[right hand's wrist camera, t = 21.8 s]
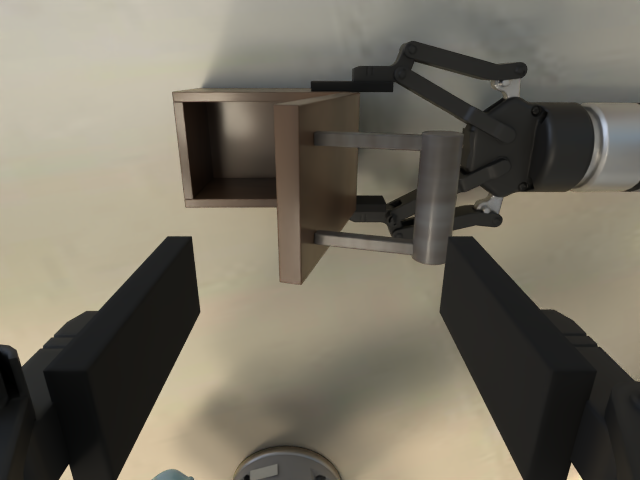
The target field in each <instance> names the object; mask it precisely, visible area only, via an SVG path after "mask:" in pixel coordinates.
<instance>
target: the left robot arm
mask: <svg viewBox="0 0 640 480" xmlns="http://www.w3.org/2000/svg"><path fill="white" fill-rule="evenodd" d="M414 61H415V62H418V63H422V64H425V65H429V66H433V67H436V68H440V69H444V70H447V71H451V72H454V73H458V74H462V75H465V76H469V77H472V78H476V79H481V80H491V86H492V88H493V89H495V90H499V91H501V92H502V94H503V98H502V99H500V100H499V101H497V102H496V103H495V104H493V105H492V106H490V107H489V108H487V109H486V110H484V111H481V110H479V109H477V108H475V107H473V106H471V105H469V104H468V103H466V102H464V101H463V100H461V99H459V98H458V97H456V96H454V95H452V94H451V93H449V92H447V91H446V90H444V89H442V88H441V87H439V86H437V85H435V84H434V83H432V82H430V81H429V80H427V79H425V78H424V77H422V76H420V75H418V74H417V73H415V72H413V71H412V70H411V69H412V66H413V64H414ZM526 73H527V66H526V64H524V63H522V62H516V63H502V64H494V63H490V62H487V61H483V60H480V59H476V58H473V57H469V56H465V55H462V54H458V53H455V52H451V51H448V50H444V49H441V48H437V47H433V46H430V45H426V44H423V43H419V42H416V41H411V42H407V43H405V44H403V45H402V46H401V47H400V50H399V54H398V57H397V59H396V61H395V63H394V64H392V65H391V66H358V67H356V68H354V69H352V81H311V91H343V92H393V82H396V83H397V84H399V85H401V86H403V87H404V88H406V89H408V90H410V91H411V92H413V93H415V94H416V95H418V96H420V97H422V98H423V99H425V100H427V101H429V102H430V103H432V104H434V105H435V106H437V107H439V108H441V109H442V110H444V111H446V112H448V113H449V114H451V115H453V116H454V117H456V118H457V119H459V120H461V121H462V122H464V123H466V124H467V125H466V128H463V134H464V139H463V148H462V156H461V164H460V165H461V166H460V173H459V181H458V189H457V194H458V193H460V192H466V191H469V190H471V189H473V188H475V187H477V186H479V185H480V186H481V187H483V188H484V189H485V190H486V191H488V192H489V194H488V196H487V197H486V198H485V199H481V200H478V201H476V202H475V204H474V205H465V206H459V207H455V214H454V223H453V230H457V229H462V228H466V227H470V226H475V225H478V226H488V227H498V226H500V225H501V223H502V220H503V219H502V217H501V216H500V215H499V211H500V208H501V204H502V200H503V197H506V196H508V195H510V194H512V193H515V192H566V191H569V190H571V191H573V192H619V191H621V192H631V191H635V192H640V103H583V104H578V103H551V102H527V101H525V100H524V99H522V98H520V82H521V78H522V77H524V76H525V74H526ZM416 197H417V189H416V190H414V191H412V192H410V193H408V194H406V195H404V196H402V197H400V198H398V199H396V200H394V201H392V202H389V203H387V204H386V202H385V200H384V198H383V196H356V211H355V212H354V213H353V215H352V216H351V217H350V219H349V220H351V221H353V222H383V223H385V224H387V226H388V229H389V232H390V234H391V236H392V237H393V238H403V239H413V233H414V221H415V217H412V218H408V217H410V216H412V215H414V214H415V209H416ZM406 218H407V219H406ZM152 480H194V478H193V477H187V476H186V475H184V474H183V473H181V472H180V471H178V470H175V469H170V470H166V471H164V472H162V473H160V474H158V475H157V476H156V477H154V478H153V479H152ZM233 480H341V479H340V476H339V474H338V472H337V470H336V469H335V467H334V466H333V465H332V464H331V463H330V462H329V461H328V460H327V459H325V458H324V457H322V456H321V455H319V454H317V453H315V452H313V451H310V450H307V449H303V448H299V447H291V446H279V447H272V448H268V449H264V450H261V451H259V452H256V453H254V454H253V455H251V456H249V457H248V458H246V459H245V460H244V461H243V462H242V463H241V464H240V465H239V467H238V468H237V470H236V472H235V474H234V477H233Z"/></svg>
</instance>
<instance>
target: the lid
mask: <svg viewBox="0 0 640 480" xmlns="http://www.w3.org/2000/svg"><path fill="white" fill-rule="evenodd" d="M359 105H360V93H359V92H343V93H337V94H331V95H326V96H320V97H314V98H308V99H302V100H297V101H291V102H285V103H279V104H274V106H273V107H274V135H275V163H276V191H277V219H278V248H279V276H280V282H284V283H291V284H298V285H302V283H303V282H304V281H305V279H306V278H307V276H308V275H309V274H310V272H311V271H312V270H313V268H314V267H315V266H316V264H317V263H318V261H319V260H320V259H321V257H322V256H323V255H324V253H325V252H326V250H327V249H328V248H329V246H335V247H344V248H353V249H362V250H371V251H380V252H389V253H398V254H407V255H412V258H413V259H414V260H415V261H417V262H420V263H423V264H429V265H440V264H444V263H445V261H446V252H447V244H448V236H452V231H453V223H454V214H455V206H456V198H457V189H458V181H459V173H460V164H461V156H462V147H463V139H464V134H463V133H459V132H452V131H426V132H423V133H422V135H415V134H389V133H362V132H359ZM358 148H373V149H394V150H415V151H420V162H419V174H418V186H417V197H416V209H415V221H414V233H413V239H403V238H393V237H383V236H373V235H363V234H354V233H344V232H340V231H341V230H342V228H343V227H344V226H345V224H346V223H347V222H348V220H349V219H350V217H351V216H352V215H353V213H354V212H355V211H356V196H357V166H358Z"/></svg>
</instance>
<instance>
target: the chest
mask: <svg viewBox="0 0 640 480" xmlns="http://www.w3.org/2000/svg"><path fill="white" fill-rule="evenodd" d="M337 93H343V91H311V88H197V89H190V90H182V91H175V92H172V94H173V104H174V112H175V121H176V130H177V138H178V147H179V156H180V164H181V173H182V182H183V190H184V199H185V207H186V208H191V207H277V191H276V163H275V135H274V107H273V106H274V104H279V103H285V102H291V101H297V100H302V99H308V98H314V97H320V96H326V95H331V94H337Z"/></svg>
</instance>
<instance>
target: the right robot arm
mask: <svg viewBox="0 0 640 480" xmlns="http://www.w3.org/2000/svg"><path fill="white" fill-rule="evenodd" d="M199 314H200V305H199V296H198V287H197V278H196V270H195V261H194V252H193V244H192V236H168V237H167V238H166V239H165V240H164V241H163V242H162V243H161V244H160V245H159V246H158V247H157V248H156V250H155V251H154V252H153V253H152V254H151V255H150V256H149V257H148V258H147V259H146V260H145V261H144V262H143V264H142V265H141V266H140V267H139V268H138V269H137V270H136V271H135V272H134V273H133V274H132V275H131V276H130V278H129V279H128V280H127V281H126V282H125V283H124V284H123V285H122V286H121V287H120V288H119V289H118V290H117V292H116V293H115V294H114V295H113V296H112V297H111V298H110V299H109V300H108V301H107V302H106V303H105V304H104V306H103V307H102V308H101V309H100V310H99V311H86V312H84V313H82V314H81V315H79V316H77V317H75V318H73V319H72V320H70V321H68V322H67V323H66V324H65V325H64V326H63V327H62V328H61V329H60V330H59V331H58V332H57V333H56V334H55V335H54V338H51V339H50V340H49V341H48V342H47V343H46V344H45V345H44V346H43V349H39V350H38V351H37V352H36V353H35V354H34V355H33V356H32V357H31V358H30V359H29V360H28V361H27V362H26V363H25V364H24V365H23V366H22V367H21V364H20V360H19V357H18V354H17V350H15V349H14V348H12V347H11V346H8V345H0V480H59V478H60V477H61V475H62V474H63V472H64V471H65V469H66V468H67V466H68V464H69V465H70V469H71V473H72V476H73V480H117V478H118V476H119V474H120V472H121V470H122V468H123V466H124V464H125V462H126V460H127V458H128V456H129V454H130V452H131V450H132V448H133V446H134V444H135V442H136V440H137V438H138V436H139V434H140V432H141V430H142V428H143V426H144V424H145V422H146V420H147V418H148V416H149V414H150V412H151V410H152V408H153V406H154V404H155V402H156V400H157V398H158V396H159V394H160V392H161V390H162V388H163V386H164V384H165V382H166V380H167V378H168V376H169V374H170V372H171V370H172V368H173V366H174V364H175V362H176V360H177V358H178V356H179V354H180V352H181V350H182V348H183V346H184V344H185V342H186V340H187V338H188V336H189V334H190V332H191V330H192V328H193V326H194V324H195V322H196V320H197V318H198V316H199ZM440 314H441V316H442V318H443V320H444V322H445V324H446V326H447V328H448V330H449V332H450V334H451V336H452V338H453V340H454V342H455V344H456V346H457V348H458V350H459V352H460V354H461V356H462V358H463V360H464V362H465V364H466V366H467V368H468V370H469V372H470V374H471V376H472V378H473V380H474V382H475V384H476V386H477V388H478V390H479V392H480V394H481V396H482V398H483V400H484V402H485V404H486V406H487V408H488V410H489V412H490V414H491V416H492V418H493V420H494V422H495V424H496V426H497V428H498V430H499V432H500V434H501V436H502V438H503V440H504V442H505V444H506V446H507V448H508V450H509V452H510V454H511V456H512V458H513V460H514V462H515V464H516V466H517V468H518V470H519V472H520V474H521V476H522V478H523V480H567V476H568V473H569V469H570V466H571V462H572V464H573V465H574V467H575V468H576V470H577V471H578V473H579V475H580V476H581V478H582V479H583V480H640V382H637V381H634V380H633V379H632V378H631V377H630V376H629V375H628V374H627V373H626V372H625V371H624V370H623V369H622V368H621V367H620V366H619V365H618V364H617V363H616V362H615V361H614V360H613V359H612V358H611V357H610V356H609V355H608V354H607V353H606V352H605V351H604V350H603V349H602V348H601V347H597V343H595V342H594V341H593V340H592V339H591V338H590V337H589V336H586V333H585V332H584V331H583V330H582V329H581V328H580V327H579V326H578V325H577V324H576V323H575V322H574V321H573V320H571V319H569V318H568V317H566V316H564V315H562V314H561V313H559V312H557V311H555V310H540V309H539V308H538V307H537V306H536V304H535V303H534V302H533V301H532V300H531V299H530V298H529V297H528V296H527V295H526V294H525V293H524V292H523V290H522V289H521V288H520V287H519V286H518V285H517V284H516V283H515V282H514V281H513V280H512V279H511V278H510V276H509V275H508V274H507V273H506V272H505V271H504V270H503V269H502V268H501V267H500V266H499V265H498V264H497V262H496V261H495V260H494V259H493V258H492V257H491V256H490V255H489V254H488V253H487V252H486V251H485V250H484V248H483V247H482V246H481V245H480V244H479V243H478V242H477V241H476V240H475V239H474V238H473V237H472V236H448V244H447V252H446V261H445V270H444V279H443V287H442V296H441V305H440Z"/></svg>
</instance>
